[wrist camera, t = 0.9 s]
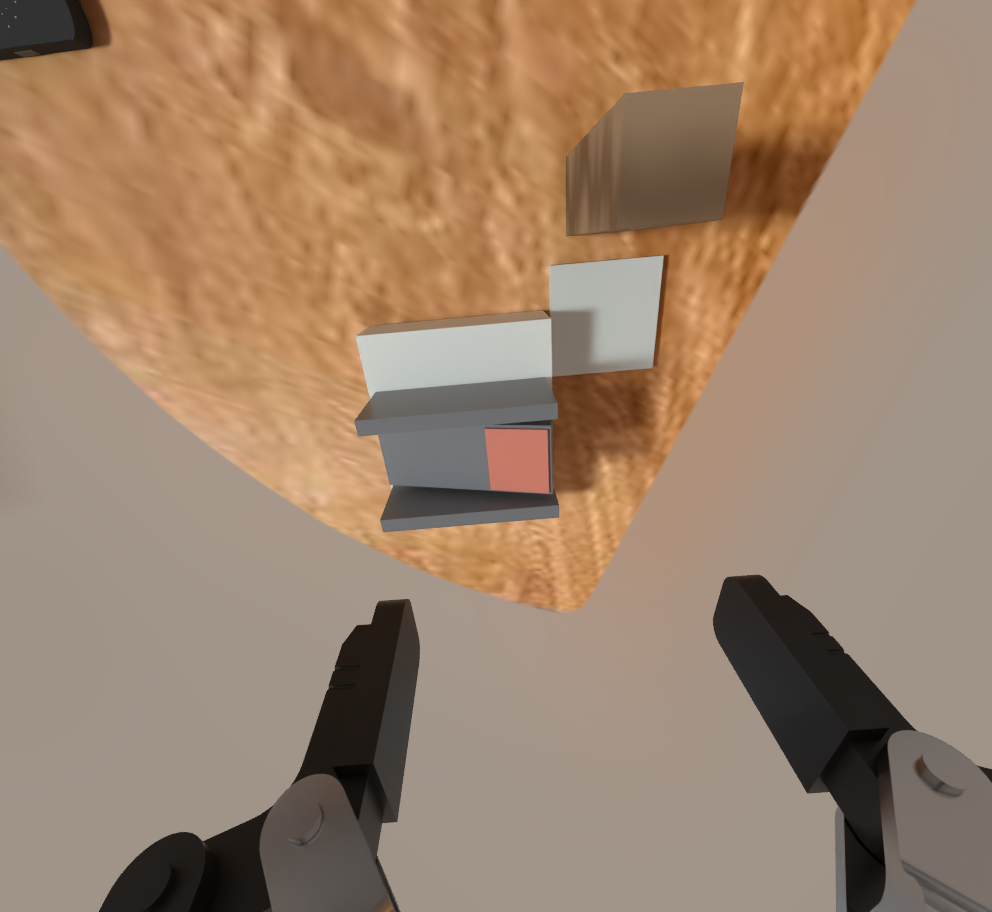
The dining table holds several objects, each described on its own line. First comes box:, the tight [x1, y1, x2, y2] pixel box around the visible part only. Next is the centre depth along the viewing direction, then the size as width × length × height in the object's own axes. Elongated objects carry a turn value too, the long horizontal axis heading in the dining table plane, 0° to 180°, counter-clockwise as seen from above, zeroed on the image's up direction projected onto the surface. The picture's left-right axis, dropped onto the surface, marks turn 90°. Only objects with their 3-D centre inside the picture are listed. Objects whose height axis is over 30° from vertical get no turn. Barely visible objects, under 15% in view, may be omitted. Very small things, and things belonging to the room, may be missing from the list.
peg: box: [566, 82, 744, 236], centre depth 22 cm, size 4×4×12 cm
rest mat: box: [549, 256, 664, 377], centre depth 30 cm, size 8×8×1 cm
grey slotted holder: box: [354, 310, 559, 532], centre depth 30 cm, size 16×13×9 cm
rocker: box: [378, 420, 554, 494], centre depth 28 cm, size 5×12×1 cm, turn 95°
